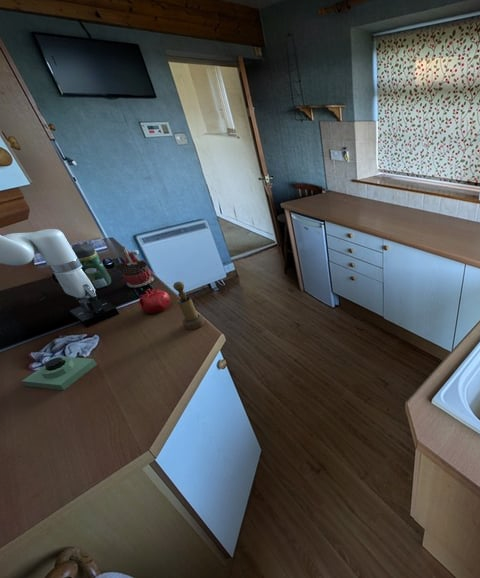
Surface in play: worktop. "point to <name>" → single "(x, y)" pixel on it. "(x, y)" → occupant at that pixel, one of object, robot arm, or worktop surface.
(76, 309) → the panel
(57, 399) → the worktop surface
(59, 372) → the button box
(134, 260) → the cake
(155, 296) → the pomegranate
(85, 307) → the knob
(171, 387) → the worktop surface
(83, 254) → the coffee jar
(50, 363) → the button
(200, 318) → the mortar and pestle
